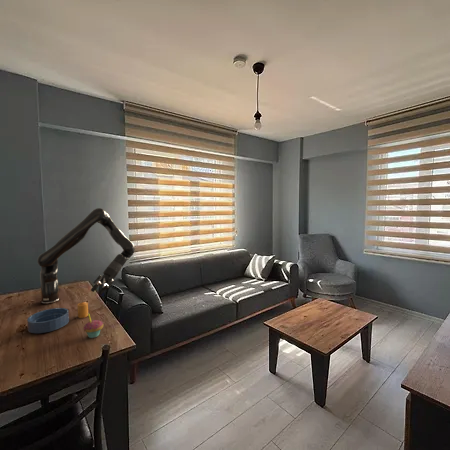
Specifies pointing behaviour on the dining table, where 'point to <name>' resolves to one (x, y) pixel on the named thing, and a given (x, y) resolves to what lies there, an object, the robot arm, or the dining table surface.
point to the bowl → (48, 320)
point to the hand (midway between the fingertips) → (95, 292)
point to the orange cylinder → (82, 309)
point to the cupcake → (93, 327)
